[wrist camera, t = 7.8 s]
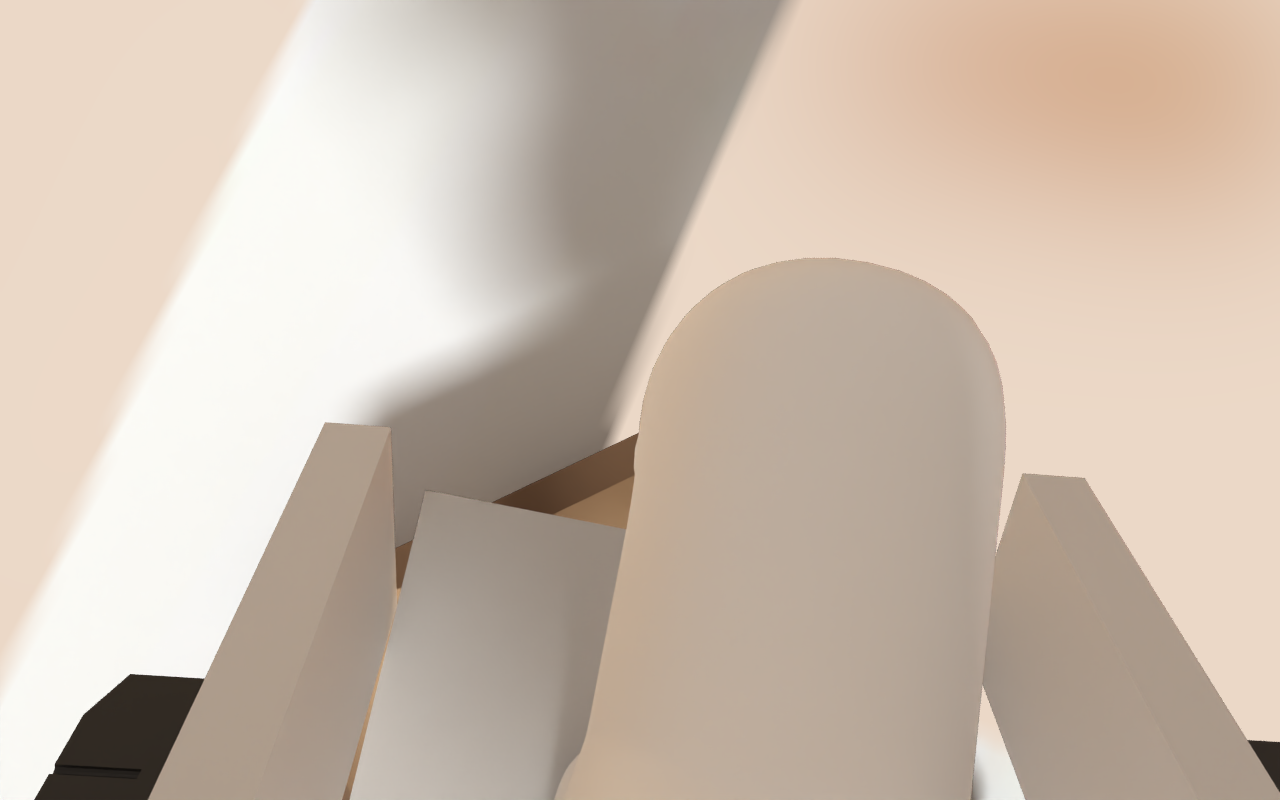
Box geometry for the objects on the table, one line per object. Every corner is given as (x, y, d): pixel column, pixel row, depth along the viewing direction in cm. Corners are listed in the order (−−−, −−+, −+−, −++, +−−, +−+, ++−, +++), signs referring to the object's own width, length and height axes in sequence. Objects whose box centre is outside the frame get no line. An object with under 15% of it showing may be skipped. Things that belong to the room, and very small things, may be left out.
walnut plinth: (735, 400, 31) (773, 337, 25) (983, 869, 28) (1090, 921, 22) (269, 621, 29) (192, 609, 23) (491, 1156, 26) (468, 1295, 20)
